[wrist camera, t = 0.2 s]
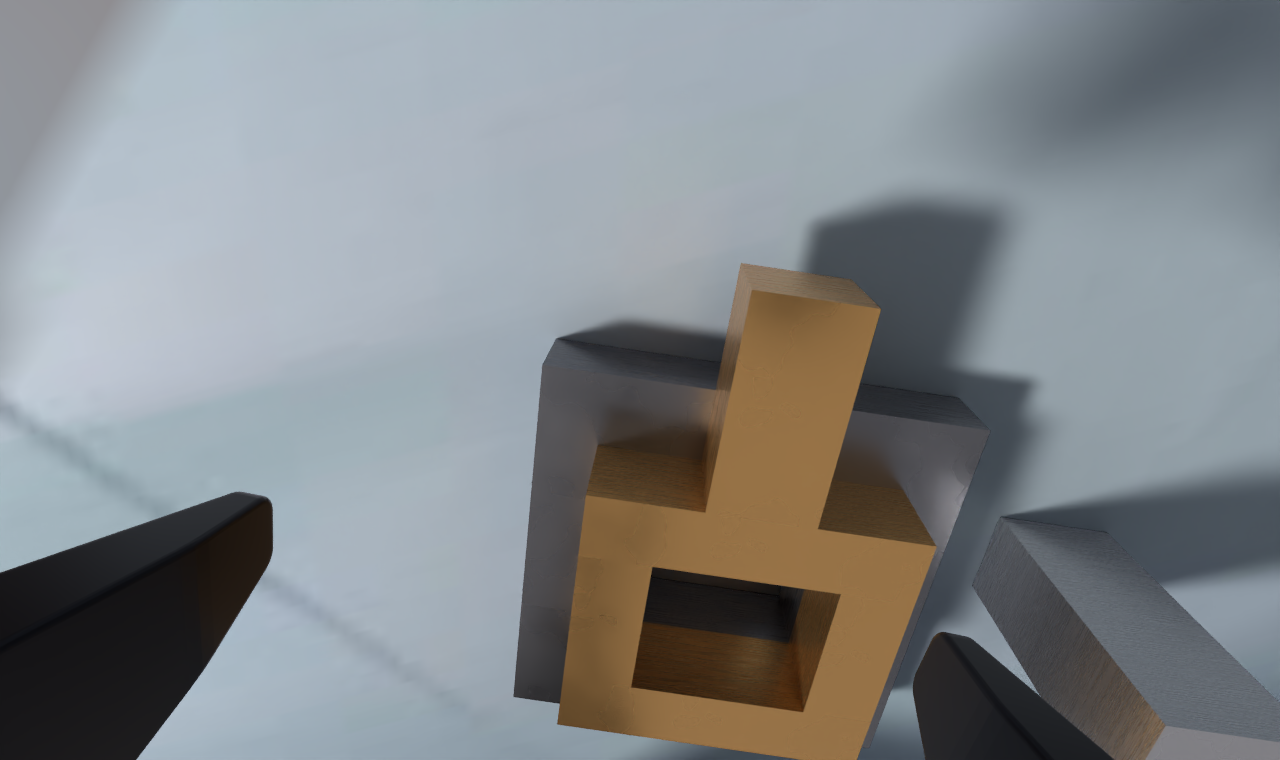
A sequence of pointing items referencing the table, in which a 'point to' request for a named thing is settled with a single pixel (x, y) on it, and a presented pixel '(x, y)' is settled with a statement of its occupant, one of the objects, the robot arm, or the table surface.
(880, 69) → the table surface
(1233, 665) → the grey rectangular block
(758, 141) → the table surface
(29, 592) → the robot arm
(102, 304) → the table surface
